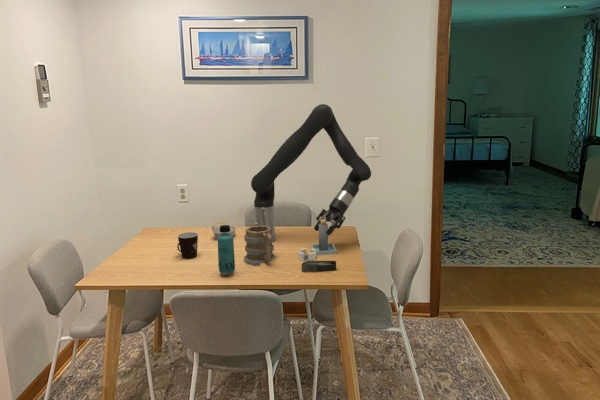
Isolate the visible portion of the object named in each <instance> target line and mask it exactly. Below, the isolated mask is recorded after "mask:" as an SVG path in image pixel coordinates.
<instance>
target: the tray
mask: <svg viewBox="0 0 600 400" xmlns="http://www.w3.org/2000/svg"><path fill="white" fill-rule="evenodd" d="M310 249H315V250H317V256H322V255H323V256H325V255H326V256H327V255H337V254H338V253H337V251H338V250H337V248H336V246H335V245H334V243H328V251H319V243H316V244H310Z"/></svg>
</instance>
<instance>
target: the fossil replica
mask: <svg viewBox="0 0 600 400" xmlns="http://www.w3.org/2000/svg"><path fill="white" fill-rule="evenodd" d="M222 225H229V226H230V232H225V233H230V234H231V235H233V237H234V236H235V234H236V227H235V226H234V225H231V224H229V222H228V221H226V220H222V221H217V222H215V221H214V223H213V224H212V226H211V230H212V233H213V234H214V237H215V238H216V239H217V237H218V236H219V235H220V234H222V233H223V232H220V226H222Z"/></svg>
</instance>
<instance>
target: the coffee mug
mask: <svg viewBox="0 0 600 400" xmlns="http://www.w3.org/2000/svg"><path fill="white" fill-rule="evenodd" d="M198 236H199V234H198V233H197V232H194V231H190V232H189V231H188V232H182V233H179V234H177V239H178V243H177V246H176V248H177V251H178V252H179V253H180V254H181V258H182V259H183V260H193V259H196V258H197V256H198V240H199V237H198Z"/></svg>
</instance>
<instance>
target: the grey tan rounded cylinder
mask: <svg viewBox="0 0 600 400" xmlns="http://www.w3.org/2000/svg"><path fill="white" fill-rule="evenodd" d="M325 219H326V218H325ZM325 219H322V220H321V223H320V224H319V230H318V244H319V251H328V244H329V235H327V234H326V232H327V230H328V229H329V224H328V223H327V222H326V220H325Z"/></svg>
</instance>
